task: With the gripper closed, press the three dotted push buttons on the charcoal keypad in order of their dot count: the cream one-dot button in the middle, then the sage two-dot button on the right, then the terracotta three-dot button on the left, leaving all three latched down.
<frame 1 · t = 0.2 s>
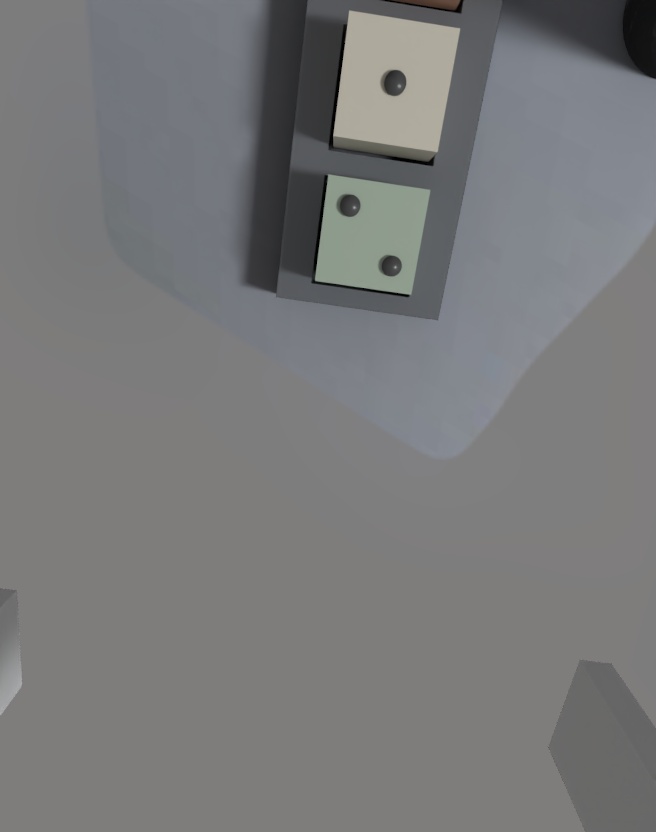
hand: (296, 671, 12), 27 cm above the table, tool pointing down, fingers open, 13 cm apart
keypad board: (385, 109, 32), on the table
button two: (369, 237, 31), point 4 cm above the table, slide at 0.0 cm
button one: (392, 91, 29), point 4 cm above the table, slide at 0.0 cm
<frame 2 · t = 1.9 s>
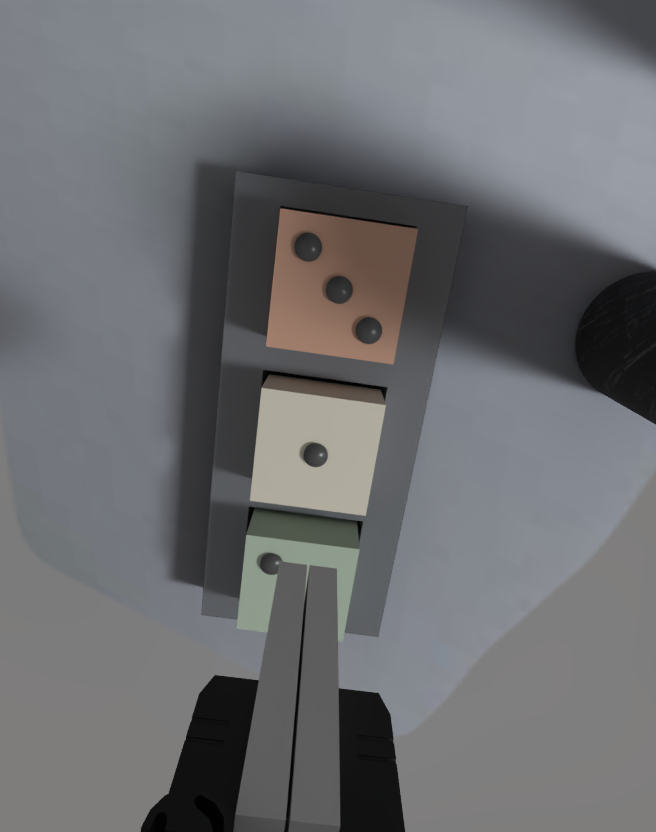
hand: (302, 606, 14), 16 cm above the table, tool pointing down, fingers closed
keypad board: (318, 422, 30), on the table
button two: (297, 574, 29), point 4 cm above the table, slide at 0.0 cm
travel mug: (636, 337, 28), on the table
button one: (316, 444, 26), point 4 cm above the table, slide at 0.0 cm
button three: (338, 288, 24), point 4 cm above the table, slide at 0.0 cm
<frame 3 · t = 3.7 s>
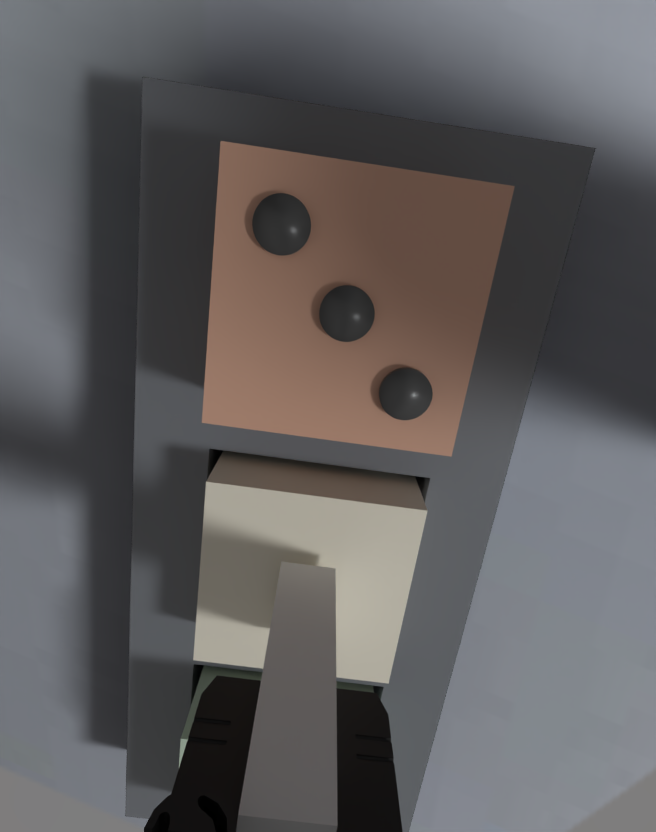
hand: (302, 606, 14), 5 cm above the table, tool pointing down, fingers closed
keypad board: (310, 519, 18), on the table
button two: (275, 776, 17), point 4 cm above the table, slide at 0.0 cm
button one: (306, 561, 16), point 3 cm above the table, slide at 1.0 cm, touching gripper
button three: (345, 306, 12), point 4 cm above the table, slide at 0.0 cm
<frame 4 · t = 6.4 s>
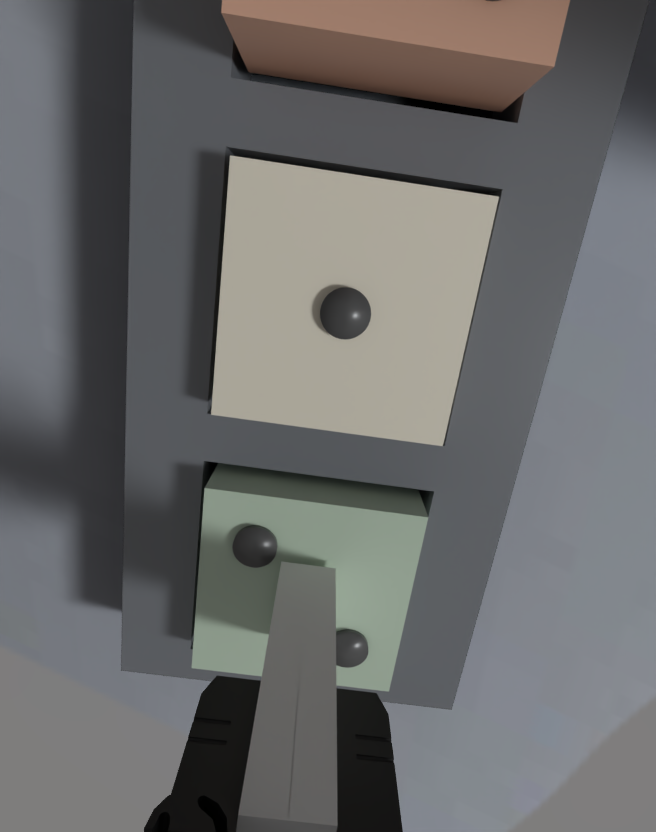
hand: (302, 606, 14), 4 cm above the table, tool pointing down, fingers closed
keypad board: (342, 300, 15), on the table
button two: (305, 567, 16), point 2 cm above the table, slide at 1.5 cm, touching gripper
button one: (344, 307, 13), point 2 cm above the table, slide at 1.6 cm
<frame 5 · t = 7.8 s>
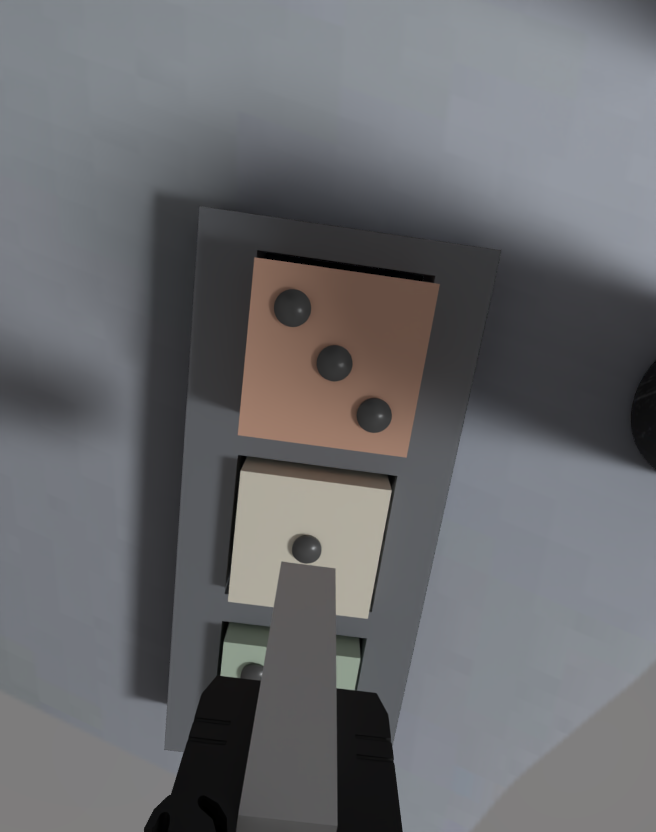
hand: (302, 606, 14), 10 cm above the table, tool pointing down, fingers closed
keypad board: (310, 510, 24), on the table
button two: (287, 681, 24), point 2 cm above the table, slide at 1.6 cm
button one: (308, 531, 22), point 2 cm above the table, slide at 1.6 cm
button three: (334, 356, 18), point 4 cm above the table, slide at 0.0 cm
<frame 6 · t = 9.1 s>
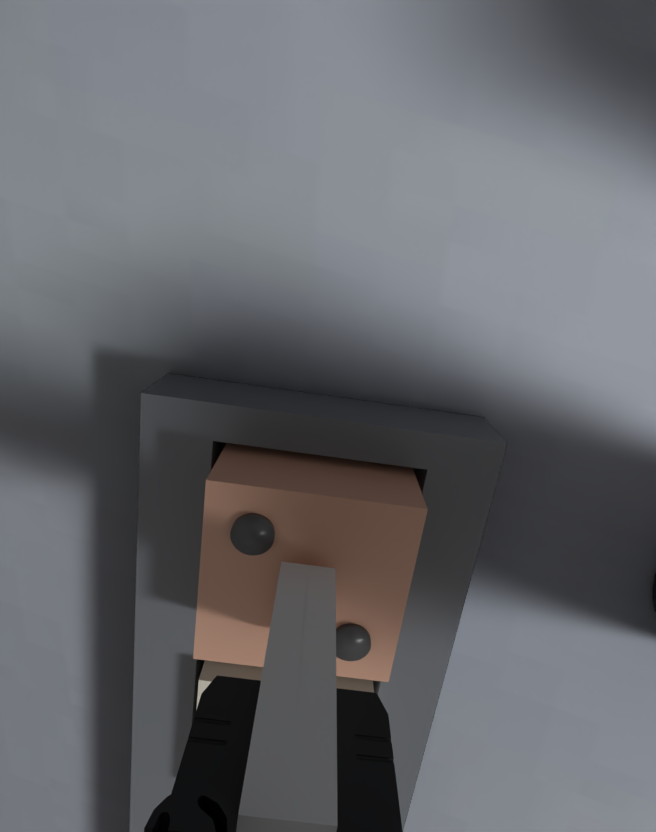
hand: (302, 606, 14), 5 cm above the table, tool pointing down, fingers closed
keypad board: (286, 678, 21), on the table
button one: (281, 720, 19), point 2 cm above the table, slide at 1.6 cm
button three: (306, 559, 16), point 3 cm above the table, slide at 0.5 cm, touching gripper
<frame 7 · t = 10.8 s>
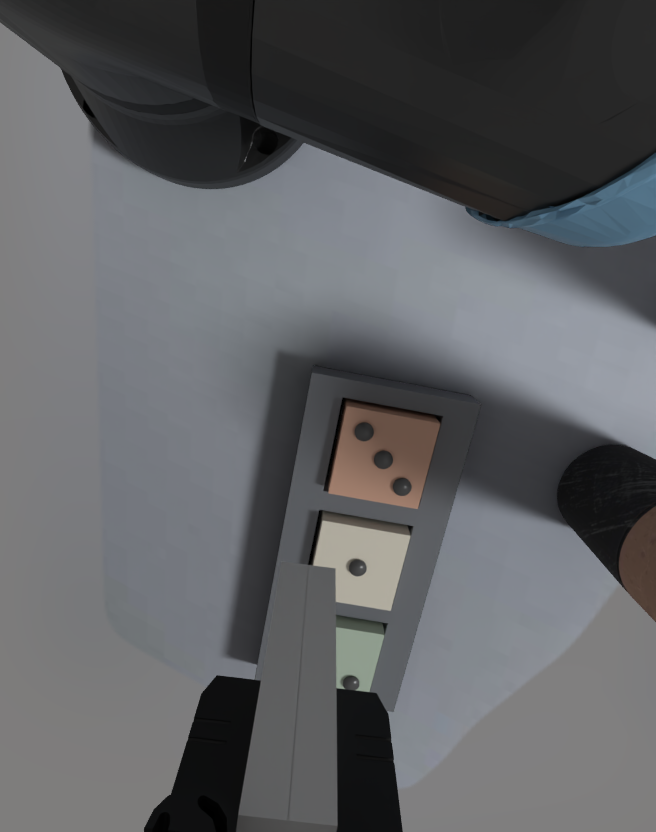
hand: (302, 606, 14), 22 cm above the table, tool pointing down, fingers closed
keypad board: (355, 541, 38), on the table
button two: (334, 648, 38), point 2 cm above the table, slide at 1.6 cm
travel mug: (604, 489, 37), on the table
button one: (356, 555, 36), point 2 cm above the table, slide at 1.6 cm
button three: (381, 451, 33), point 2 cm above the table, slide at 1.6 cm
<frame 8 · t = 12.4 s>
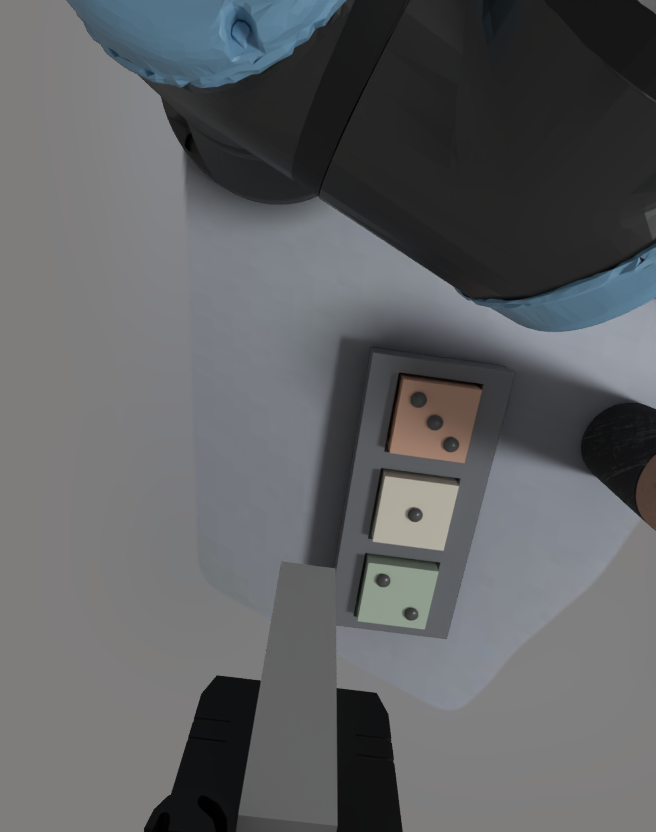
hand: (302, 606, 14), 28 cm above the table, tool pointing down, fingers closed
keypad board: (409, 495, 44), on the table
button two: (395, 586, 45), point 2 cm above the table, slide at 1.6 cm
travel mug: (621, 441, 43), on the table
button one: (412, 506, 42), point 2 cm above the table, slide at 1.6 cm
button three: (431, 416, 40), point 2 cm above the table, slide at 1.6 cm
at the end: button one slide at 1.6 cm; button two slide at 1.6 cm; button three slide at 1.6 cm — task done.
